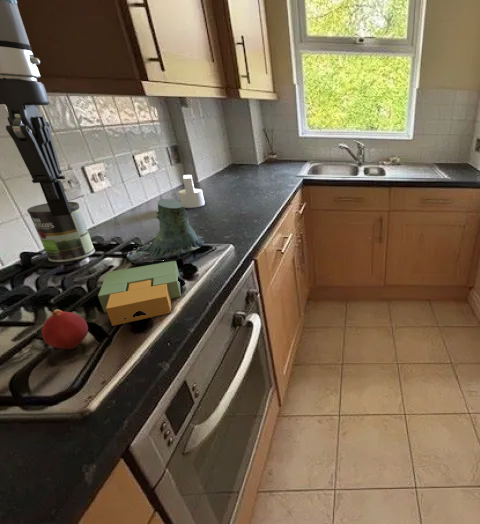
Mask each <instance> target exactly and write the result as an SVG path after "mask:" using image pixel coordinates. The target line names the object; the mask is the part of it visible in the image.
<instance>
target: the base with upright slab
mask: <svg viewBox="0 0 480 524" xmlns="http://www.w3.org/2000/svg"><path fill="white" fill-rule="evenodd" d="M182 181H183V185H184V189H181V190H179V191H177V192H178V196H179V202H181V203H182V204H183V206H184V208H185V209H194V208H200V207H203V206H205V205H206V202H205V198H204V193H203V189H201V188H195V186H194V180H193V176H192V174H183V176H182Z"/></svg>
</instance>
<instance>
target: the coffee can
mask: <svg viewBox="0 0 480 524" xmlns="http://www.w3.org/2000/svg"><path fill="white" fill-rule="evenodd" d="M68 203H69V206H70V209H71V211H72V213H71V215H63V216H52V214H51V211H50V209H49V206H48V204H47V202H46V203H41V204H36V205H33V206H31V207H28V208H27V209H26V211H27V213H28V214H29V217H30V219H31V221H32V224H33V226H34V228H35V230H36V232H37V235H38V238H39V240H40V242H41V244H42V246H43V249H44V251H45V252H44V253H46V256H47V260H48V261H49V262H51V263H67V262H73V261H74V262H75V261H78V260H82V259H84V258H87V257H89V256H92V255H93V254H94V253H95V252H96V249H95V247H94V245H93V241H92V239H91V235H90V233H89V230H88V227H87V225H86V221H85V219H84V217H83V213H82V211H81V208H80V204H79V202H77V201H68Z"/></svg>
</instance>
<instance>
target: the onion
mask: <svg viewBox="0 0 480 524" xmlns="http://www.w3.org/2000/svg"><path fill="white" fill-rule="evenodd" d="M88 332H89V326H88V323H87V321H86V320H85V319H84V317H83V316H81V315H79V314H77V313H74V312H71V311H63V310H61V309H54V310H53V311H52V313H51V315H50V316H49V317H48V318H46V320H45V321H44V323H43V325H42V327H41V336H42V339H43V342H45V343H46V345H48V346H50V347H52V348H55V349H66V350H75V349H76V348H77V347H78V346H79V345H80V344H81V343H82V342H83V341H84V340H85V338H86V337H87V335H88Z"/></svg>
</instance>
